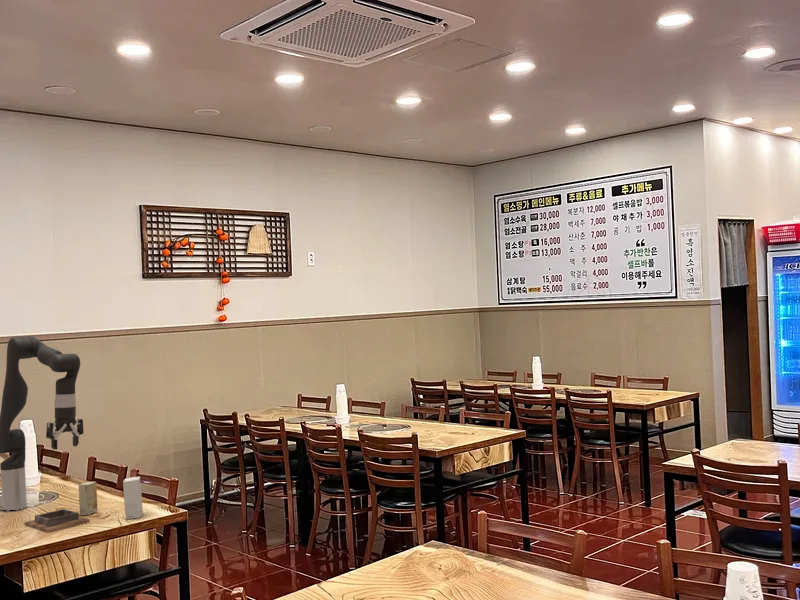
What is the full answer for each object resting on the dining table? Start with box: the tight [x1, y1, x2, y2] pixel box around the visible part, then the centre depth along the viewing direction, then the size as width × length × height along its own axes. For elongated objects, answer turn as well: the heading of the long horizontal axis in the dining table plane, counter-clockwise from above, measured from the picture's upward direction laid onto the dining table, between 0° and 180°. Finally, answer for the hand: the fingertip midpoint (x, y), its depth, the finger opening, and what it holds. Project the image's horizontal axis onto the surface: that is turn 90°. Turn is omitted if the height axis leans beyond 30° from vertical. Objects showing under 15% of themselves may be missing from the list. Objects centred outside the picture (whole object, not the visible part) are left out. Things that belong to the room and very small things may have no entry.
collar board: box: [24, 508, 91, 534], centre depth 304 cm, size 20×16×4 cm
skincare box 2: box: [122, 476, 144, 520], centre depth 309 cm, size 8×6×15 cm
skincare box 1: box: [78, 481, 99, 516], centre depth 318 cm, size 6×4×12 cm
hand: (65, 447), depth 305 cm, fingers open, 8 cm apart
